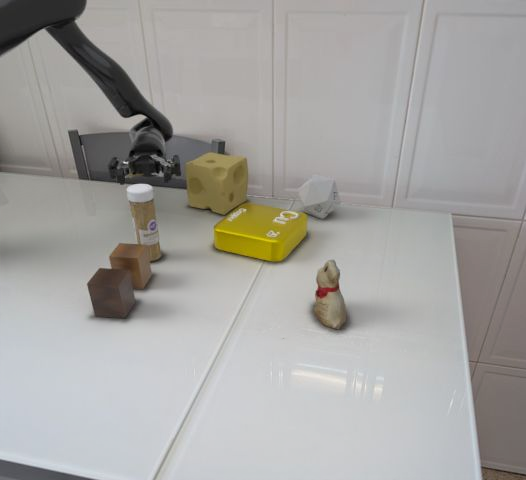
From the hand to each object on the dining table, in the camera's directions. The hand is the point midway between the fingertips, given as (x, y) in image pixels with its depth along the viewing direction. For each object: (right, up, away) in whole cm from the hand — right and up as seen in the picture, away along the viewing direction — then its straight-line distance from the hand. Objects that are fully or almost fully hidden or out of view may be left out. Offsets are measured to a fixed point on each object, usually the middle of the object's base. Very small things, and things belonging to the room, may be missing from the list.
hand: (143, 178), depth 96 cm
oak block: (0, -21, -8) cm, 22 cm away
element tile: (+23, -11, +5) cm, 26 cm away
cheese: (+13, +1, +20) cm, 23 cm away
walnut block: (-1, -26, -15) cm, 30 cm away
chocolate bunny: (+34, -28, -16) cm, 46 cm away
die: (+35, -3, +15) cm, 39 cm away
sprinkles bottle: (+2, -15, -1) cm, 16 cm away
